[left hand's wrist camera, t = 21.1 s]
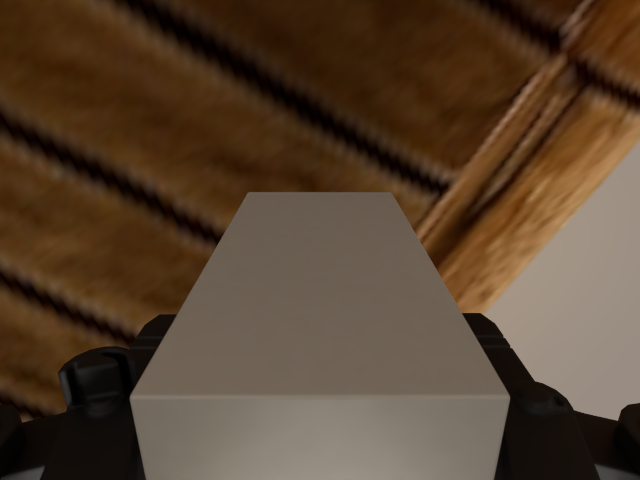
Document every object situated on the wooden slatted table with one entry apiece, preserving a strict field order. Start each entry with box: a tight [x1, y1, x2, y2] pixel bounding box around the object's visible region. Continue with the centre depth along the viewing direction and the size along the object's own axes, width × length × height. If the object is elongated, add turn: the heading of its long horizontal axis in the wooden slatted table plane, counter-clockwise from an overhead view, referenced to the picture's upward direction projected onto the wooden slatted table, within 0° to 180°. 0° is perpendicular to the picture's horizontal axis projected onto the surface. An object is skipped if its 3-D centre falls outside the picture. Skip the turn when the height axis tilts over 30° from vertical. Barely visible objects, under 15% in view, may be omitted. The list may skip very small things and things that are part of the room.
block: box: [130, 192, 510, 480], centre depth 11 cm, size 5×5×10 cm
